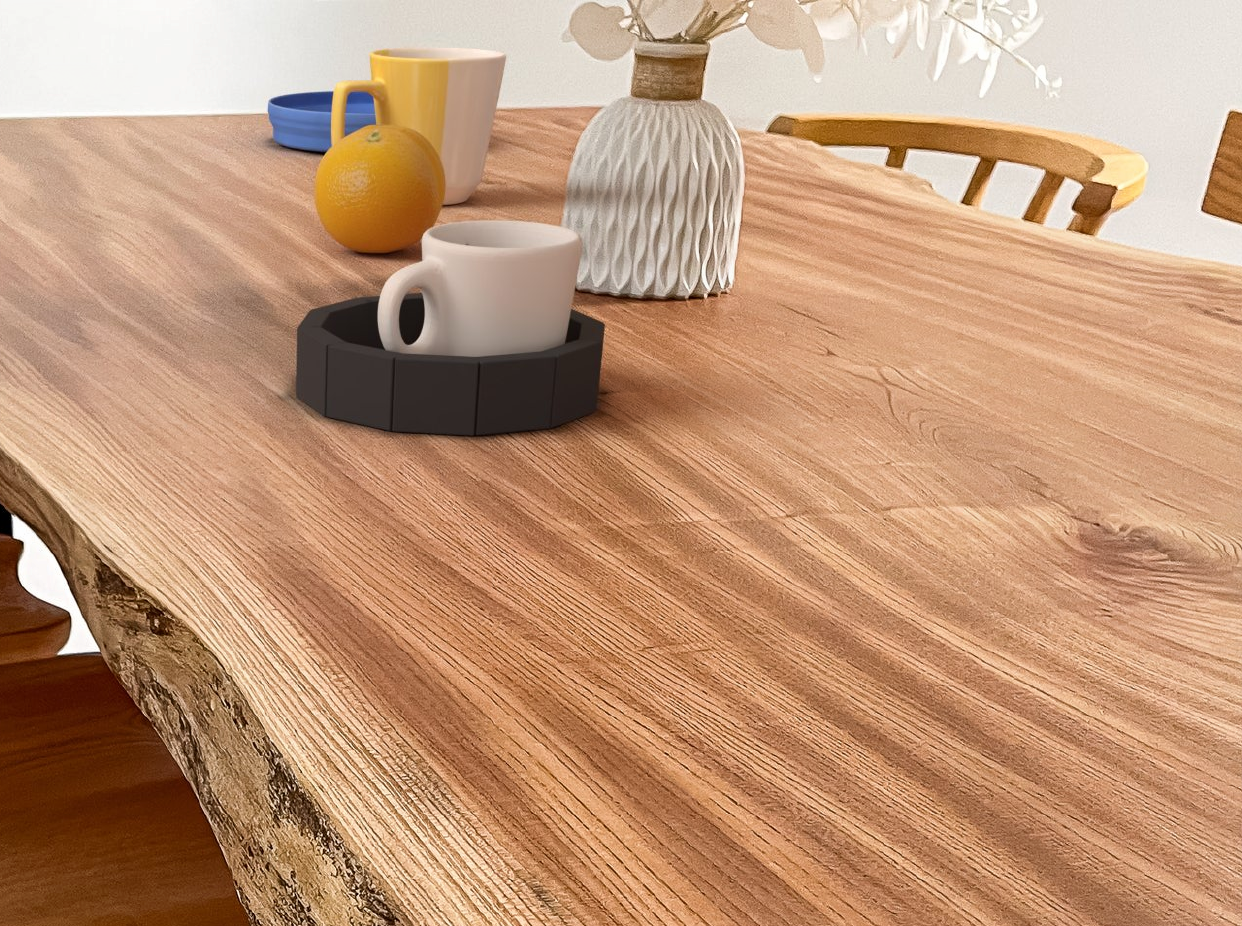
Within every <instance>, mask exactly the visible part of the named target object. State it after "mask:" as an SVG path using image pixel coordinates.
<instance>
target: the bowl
mask: <svg viewBox="0 0 1242 926" xmlns="http://www.w3.org/2000/svg"><path fill="white" fill-rule="evenodd" d="M333 93H334V90H327V91H326V90H325V91H307V92H297V93H296V92H295V93H289V94H282V95H277V96H274V97H272V98H269V100H268V102H267V114H268V120H269V122H270V124H271V126H272V139H273V140H274V142H275V143H276V144H278V145H280V146H284V147H287V148H292V149H296V150H297V149H298V150H304V151H311V152H320V153H326V152H327V151H328V150H329V149H330V148H331V147H332V143H331V114H332V101H333ZM368 125H376V115H375V106H374V98H373V96H372V95H370V94H369V93H367V92H364V91H354V92H350V93H349V94H348V97H347V102H346V110H345V137H346V136H348V135H349V134H351V133H353V132H355V131H357V130H359V129H361V128H363V127H365V126H368Z"/></svg>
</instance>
